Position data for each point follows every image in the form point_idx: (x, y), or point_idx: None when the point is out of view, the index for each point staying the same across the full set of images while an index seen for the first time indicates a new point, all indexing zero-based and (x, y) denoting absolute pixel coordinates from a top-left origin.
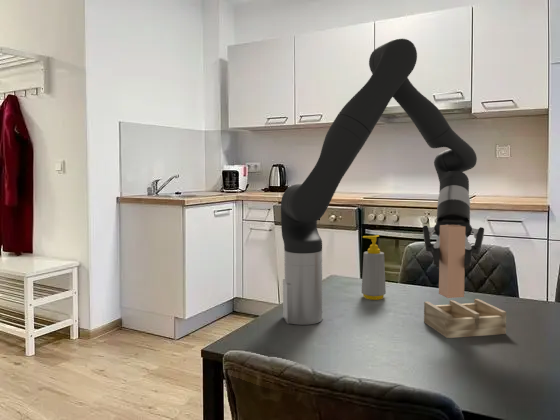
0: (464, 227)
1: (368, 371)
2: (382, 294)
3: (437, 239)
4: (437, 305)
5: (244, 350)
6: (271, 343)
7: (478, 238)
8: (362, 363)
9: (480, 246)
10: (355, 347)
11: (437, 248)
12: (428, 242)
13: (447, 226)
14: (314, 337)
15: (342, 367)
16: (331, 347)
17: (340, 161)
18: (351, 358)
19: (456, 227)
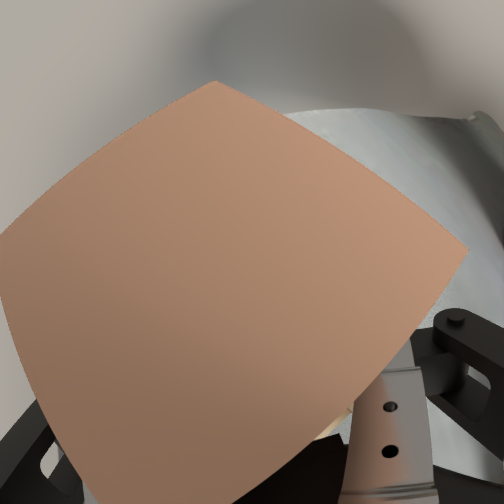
0: (7, 239)
1: (319, 122)
2: None
3: (412, 368)
4: (324, 432)
5: (466, 119)
6: (470, 143)
7: (10, 451)
8: (340, 135)
9: (51, 476)
10: (387, 175)
11: None
12: (460, 320)
13: (255, 134)
14: (458, 183)
15: (353, 118)
16: (412, 161)
17: None
18: (363, 142)
19: (108, 149)
